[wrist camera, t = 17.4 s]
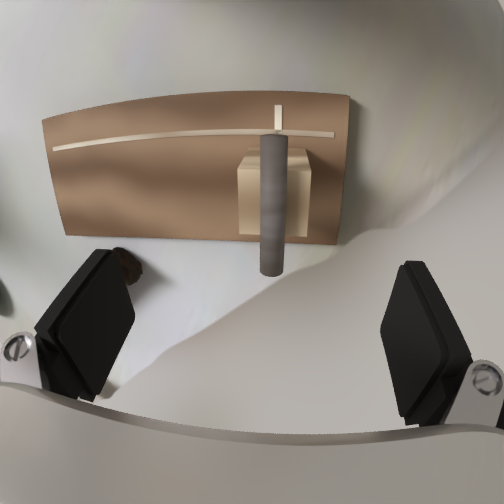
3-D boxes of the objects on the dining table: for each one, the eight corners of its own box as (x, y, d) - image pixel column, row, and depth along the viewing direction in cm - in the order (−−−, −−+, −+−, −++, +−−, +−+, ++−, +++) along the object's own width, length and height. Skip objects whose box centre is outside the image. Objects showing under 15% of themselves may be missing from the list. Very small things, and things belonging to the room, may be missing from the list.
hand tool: (119, 238, 29) (97, 263, 25) (148, 265, 31) (129, 293, 27) (58, 314, 37) (42, 336, 33) (79, 332, 39) (64, 355, 35)
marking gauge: (249, 119, 21) (232, 138, 14) (306, 121, 20) (315, 140, 14) (250, 221, 25) (237, 275, 19) (301, 223, 25) (304, 278, 18)
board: (51, 116, 23) (41, 120, 22) (345, 95, 20) (349, 96, 19) (73, 228, 29) (65, 235, 28) (334, 236, 27) (336, 245, 25)
